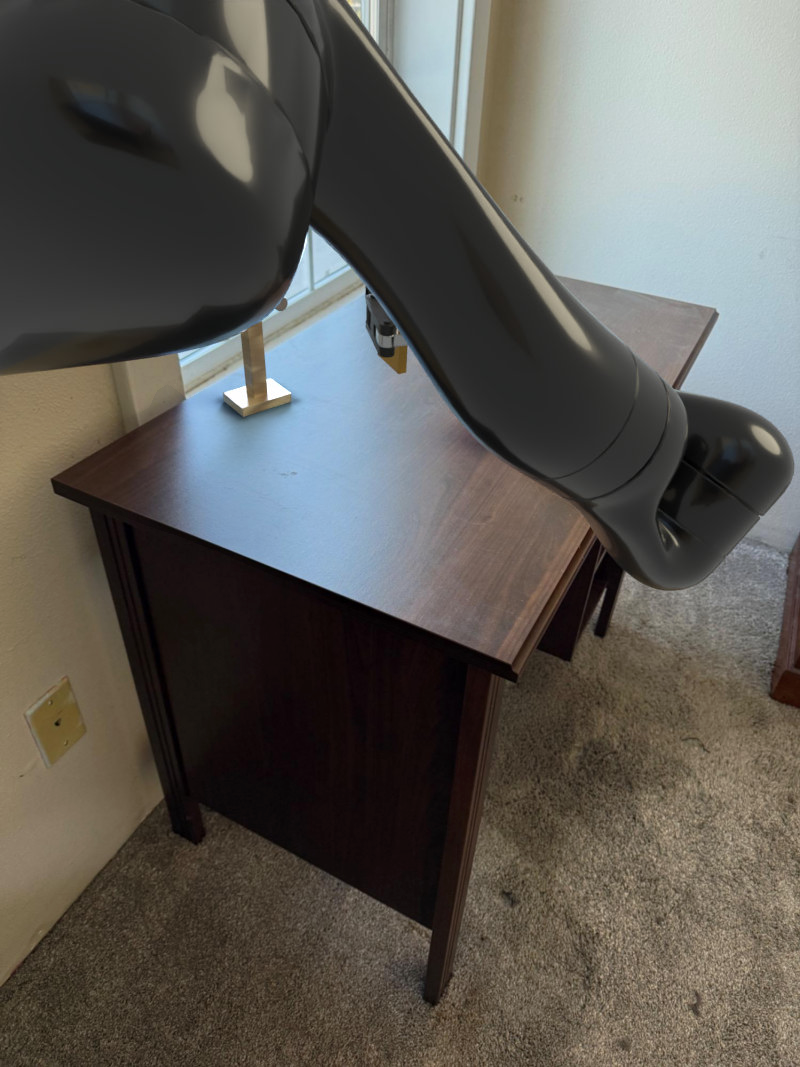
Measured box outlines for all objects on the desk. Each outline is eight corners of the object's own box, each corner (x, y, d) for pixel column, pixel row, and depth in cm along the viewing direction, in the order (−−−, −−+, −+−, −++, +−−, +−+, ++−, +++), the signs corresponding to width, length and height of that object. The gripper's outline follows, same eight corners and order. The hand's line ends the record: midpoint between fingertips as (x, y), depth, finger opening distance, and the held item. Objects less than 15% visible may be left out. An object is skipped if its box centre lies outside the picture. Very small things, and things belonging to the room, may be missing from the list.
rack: (264, 434, 89) (251, 285, 77) (223, 401, 95) (206, 257, 83) (313, 417, 92) (307, 272, 81) (271, 386, 98) (260, 247, 87)
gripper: (607, 297, 52) (476, 224, 63) (428, 332, 46) (319, 245, 58) (586, 393, 56) (467, 309, 68) (421, 435, 51) (322, 336, 62)
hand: (400, 280), depth 63 cm, fingers closed on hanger, 4 cm apart
